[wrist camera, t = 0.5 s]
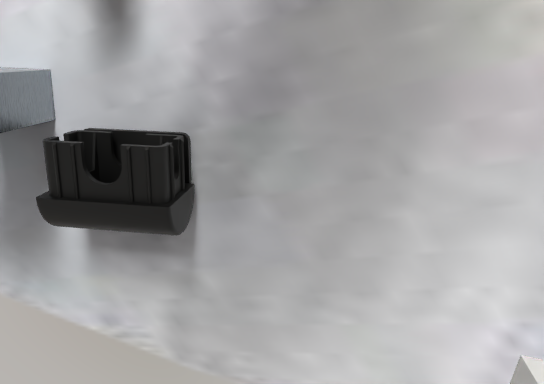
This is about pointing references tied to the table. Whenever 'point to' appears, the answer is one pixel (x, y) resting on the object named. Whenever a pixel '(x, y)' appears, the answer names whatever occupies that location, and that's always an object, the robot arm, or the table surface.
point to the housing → (25, 98)
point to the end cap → (119, 181)
